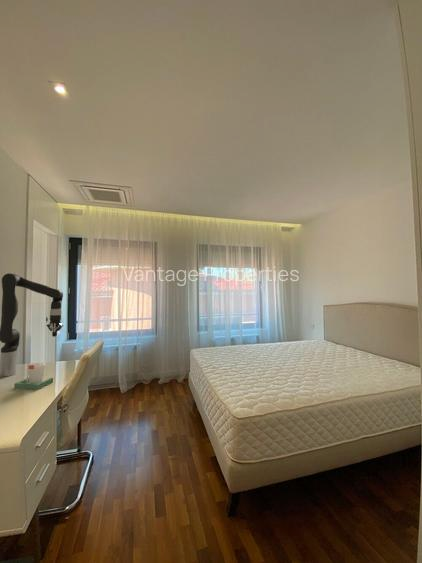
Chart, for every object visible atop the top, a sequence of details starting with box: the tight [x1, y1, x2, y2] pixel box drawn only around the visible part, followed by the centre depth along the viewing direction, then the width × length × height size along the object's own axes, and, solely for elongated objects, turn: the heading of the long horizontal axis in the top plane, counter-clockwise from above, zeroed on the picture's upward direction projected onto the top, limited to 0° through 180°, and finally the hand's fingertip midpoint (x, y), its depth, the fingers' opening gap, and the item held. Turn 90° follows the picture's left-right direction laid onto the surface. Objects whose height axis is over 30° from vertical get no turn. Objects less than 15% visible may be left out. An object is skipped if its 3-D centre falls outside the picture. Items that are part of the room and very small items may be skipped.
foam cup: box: [28, 362, 46, 384], centre depth 154 cm, size 10×9×13 cm
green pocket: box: [13, 364, 54, 391], centre depth 153 cm, size 16×13×15 cm
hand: (54, 336), depth 181 cm, fingers closed
